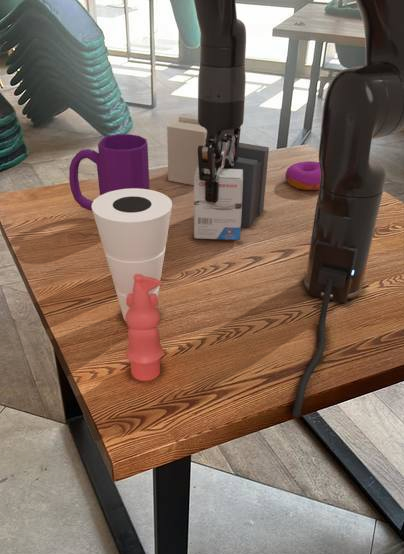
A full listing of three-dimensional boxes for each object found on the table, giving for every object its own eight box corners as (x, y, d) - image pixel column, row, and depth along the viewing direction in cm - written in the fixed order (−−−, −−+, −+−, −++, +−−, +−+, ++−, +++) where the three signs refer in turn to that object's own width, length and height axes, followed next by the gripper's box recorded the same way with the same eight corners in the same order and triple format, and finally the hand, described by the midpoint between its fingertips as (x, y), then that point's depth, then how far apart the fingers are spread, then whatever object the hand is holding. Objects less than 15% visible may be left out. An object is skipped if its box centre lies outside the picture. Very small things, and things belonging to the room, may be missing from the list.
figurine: (165, 358, 79) (162, 263, 70) (165, 383, 75) (162, 285, 66) (128, 358, 79) (120, 263, 70) (126, 383, 75) (117, 285, 66)
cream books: (203, 187, 126) (204, 130, 118) (167, 180, 129) (166, 124, 121) (217, 174, 132) (219, 119, 124) (183, 168, 135) (183, 113, 127)
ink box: (240, 229, 108) (244, 167, 101) (239, 241, 105) (243, 178, 97) (196, 227, 109) (196, 165, 102) (193, 238, 105) (193, 176, 98)
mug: (146, 230, 109) (142, 151, 100) (67, 225, 111) (56, 146, 101) (155, 210, 116) (152, 134, 107) (80, 205, 118) (71, 130, 108)
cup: (188, 317, 87) (188, 205, 76) (134, 346, 81) (125, 230, 70) (143, 289, 93) (137, 182, 82) (89, 315, 87) (75, 203, 76)
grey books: (249, 228, 111) (254, 161, 103) (208, 219, 114) (210, 154, 105) (263, 211, 117) (269, 147, 109) (224, 203, 120) (227, 140, 111)
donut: (314, 173, 133) (317, 154, 130) (340, 189, 126) (343, 169, 123) (276, 180, 130) (278, 160, 127) (300, 197, 123) (303, 176, 120)
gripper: (227, 108, 85) (223, 214, 96) (257, 86, 96) (251, 184, 106) (181, 102, 88) (182, 206, 98) (216, 81, 98) (213, 177, 108)
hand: (218, 194), depth 102 cm, fingers closed on ink box, 5 cm apart
